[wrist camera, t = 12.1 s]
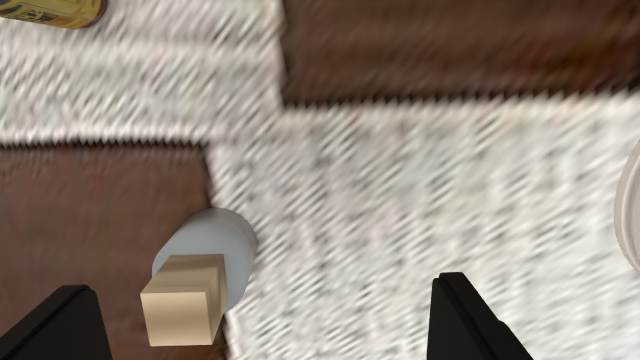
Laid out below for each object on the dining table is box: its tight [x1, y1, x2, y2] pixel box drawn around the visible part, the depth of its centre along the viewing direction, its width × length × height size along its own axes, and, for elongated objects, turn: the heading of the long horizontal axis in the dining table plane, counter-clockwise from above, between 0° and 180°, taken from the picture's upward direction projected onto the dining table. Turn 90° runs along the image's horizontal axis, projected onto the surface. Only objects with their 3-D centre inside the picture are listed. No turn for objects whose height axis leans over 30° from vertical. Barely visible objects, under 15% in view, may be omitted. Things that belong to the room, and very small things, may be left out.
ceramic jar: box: [152, 208, 257, 313], centre depth 37 cm, size 9×9×7 cm
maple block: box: [140, 254, 228, 346], centre depth 31 cm, size 5×5×6 cm
